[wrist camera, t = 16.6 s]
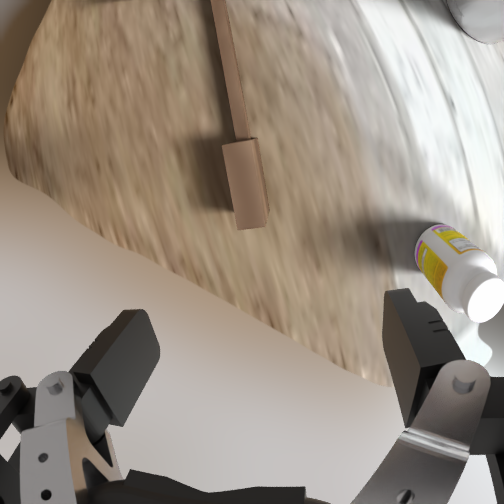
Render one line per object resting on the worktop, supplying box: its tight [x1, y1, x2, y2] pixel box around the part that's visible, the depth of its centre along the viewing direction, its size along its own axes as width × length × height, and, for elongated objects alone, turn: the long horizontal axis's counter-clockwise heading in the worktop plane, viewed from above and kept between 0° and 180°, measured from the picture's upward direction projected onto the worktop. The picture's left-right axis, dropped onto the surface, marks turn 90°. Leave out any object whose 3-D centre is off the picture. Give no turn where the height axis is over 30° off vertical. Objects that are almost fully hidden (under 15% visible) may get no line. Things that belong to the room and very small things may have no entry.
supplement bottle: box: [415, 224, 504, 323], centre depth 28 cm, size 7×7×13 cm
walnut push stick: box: [211, 0, 269, 230], centre depth 27 cm, size 7×29×6 cm, turn 10°
